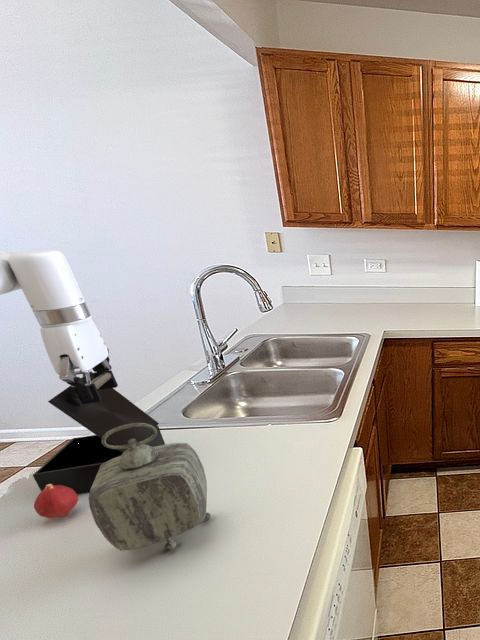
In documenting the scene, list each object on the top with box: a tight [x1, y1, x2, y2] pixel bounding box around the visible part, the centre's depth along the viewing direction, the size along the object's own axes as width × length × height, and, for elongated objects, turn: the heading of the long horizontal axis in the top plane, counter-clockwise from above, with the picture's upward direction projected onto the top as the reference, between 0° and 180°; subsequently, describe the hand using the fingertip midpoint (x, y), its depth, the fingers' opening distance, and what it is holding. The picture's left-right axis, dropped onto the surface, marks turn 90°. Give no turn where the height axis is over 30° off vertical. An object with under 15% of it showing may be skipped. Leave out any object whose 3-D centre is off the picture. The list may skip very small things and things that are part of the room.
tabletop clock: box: [88, 423, 211, 552], centre depth 68 cm, size 14×9×25 cm, turn 122°
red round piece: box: [33, 484, 79, 519], centre depth 77 cm, size 6×6×8 cm
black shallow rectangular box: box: [32, 425, 166, 495], centre depth 90 cm, size 17×14×6 cm
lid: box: [47, 371, 160, 453], centre depth 87 cm, size 18×14×6 cm
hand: (100, 394), depth 85 cm, fingers closed on lid, 6 cm apart
